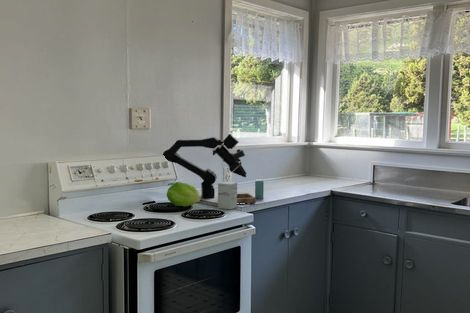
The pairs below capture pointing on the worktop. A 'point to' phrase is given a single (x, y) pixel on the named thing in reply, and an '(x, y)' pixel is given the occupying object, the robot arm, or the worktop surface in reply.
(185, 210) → the worktop surface
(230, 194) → the grey stone cylinder
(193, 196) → the green oval fruit
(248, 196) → the box
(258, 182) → the tea tin
